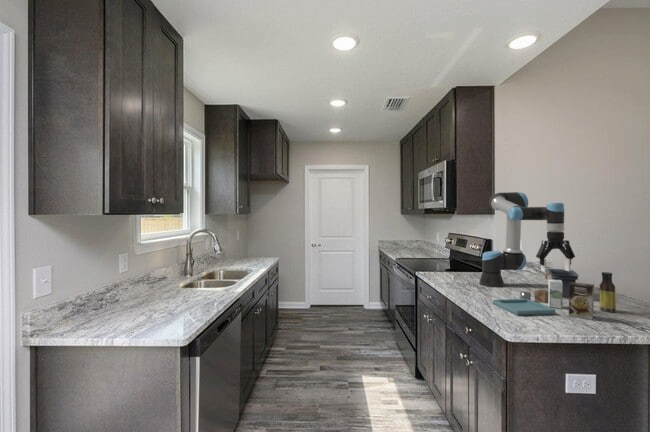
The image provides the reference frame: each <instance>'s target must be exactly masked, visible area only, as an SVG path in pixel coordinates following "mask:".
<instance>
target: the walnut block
mask: <svg viewBox="0 0 650 432" xmlns="http://www.w3.org/2000/svg"><path fill="white" fill-rule="evenodd" d="M534 302H538V303H541V304H542V303H543V304H548V290H546V289H535V290H534Z"/></svg>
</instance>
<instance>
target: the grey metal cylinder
mask: <svg viewBox="0 0 650 432" xmlns="http://www.w3.org/2000/svg"><path fill="white" fill-rule="evenodd" d="M531 293H532V292H529V291H520V297H519V299H529V300H531V299H532V298H531V297H532V296H531V295H532V294H531Z"/></svg>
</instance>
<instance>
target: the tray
mask: <svg viewBox="0 0 650 432" xmlns="http://www.w3.org/2000/svg"><path fill="white" fill-rule="evenodd" d="M492 305H494V306H496V307H498V308H501V309H502V310H504V311H506V312H509V313H511V314H513V315H515V316H516V317H520V316H521V317H524V316H551V315H552V316H553V315H554V316H555V315H556V308H551V307H549V306H547V305H544V304H542V303H540V302H538V301H535V300H529V299H520V298H509V299H508V298H507V299H505V298H504V299H501V298H500V299H492Z"/></svg>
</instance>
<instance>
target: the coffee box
mask: <svg viewBox="0 0 650 432" xmlns="http://www.w3.org/2000/svg"><path fill="white" fill-rule="evenodd" d="M594 295H595V284H590V283H582V282H577V281H576V282H571V283H570V284H569V298H568V316H569V317H573V318H578V319H583V320H589V321H592V320H593V319H594V308H595V307H594V303H595V302H594V299H595V297H594Z"/></svg>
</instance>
